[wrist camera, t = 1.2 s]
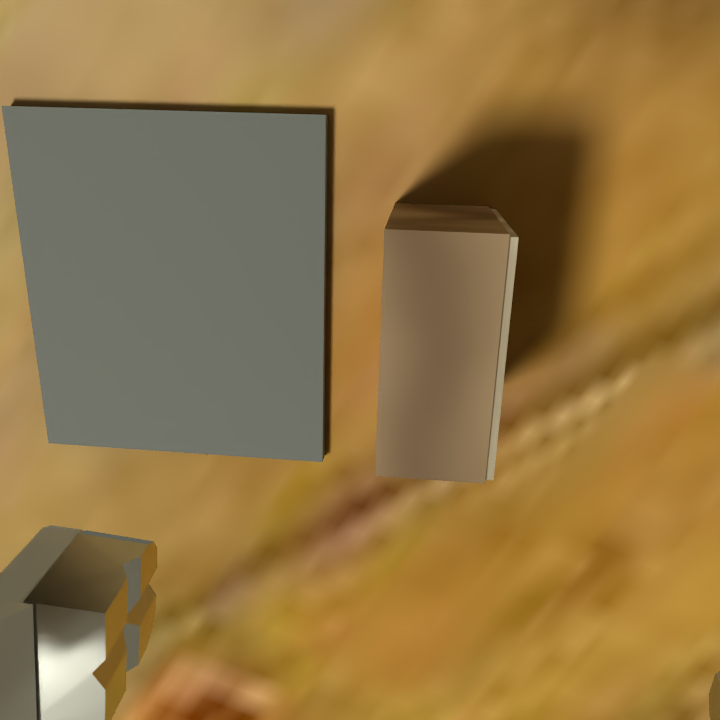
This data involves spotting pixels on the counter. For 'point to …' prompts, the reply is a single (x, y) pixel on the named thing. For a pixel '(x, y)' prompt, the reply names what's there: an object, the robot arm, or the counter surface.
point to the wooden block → (443, 341)
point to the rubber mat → (176, 276)
